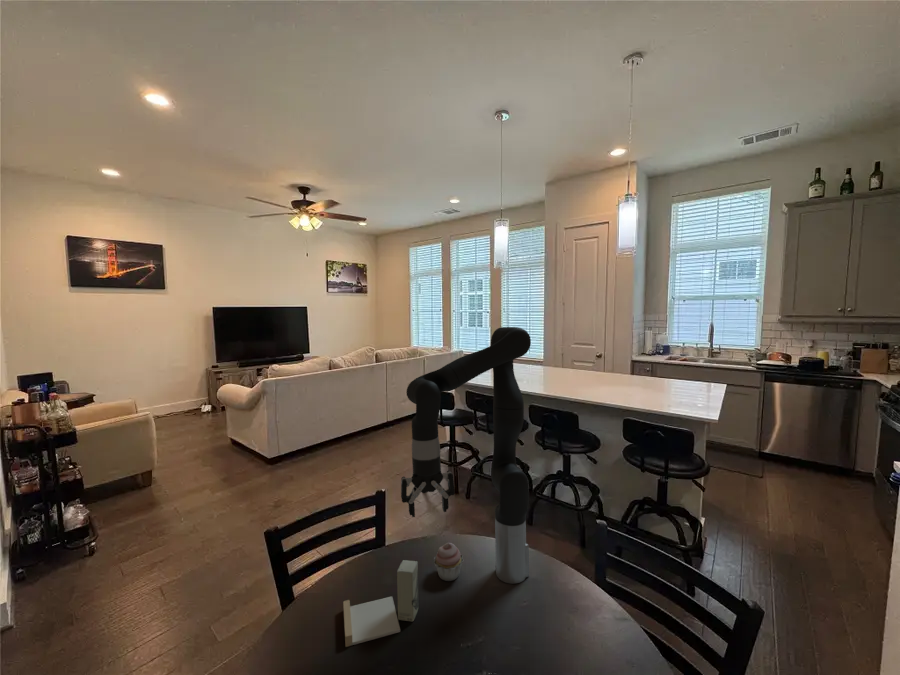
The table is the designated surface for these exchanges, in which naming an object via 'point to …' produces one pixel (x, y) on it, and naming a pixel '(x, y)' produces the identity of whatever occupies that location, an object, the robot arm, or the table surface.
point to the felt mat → (369, 620)
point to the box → (407, 590)
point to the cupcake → (448, 562)
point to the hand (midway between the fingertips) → (428, 513)
